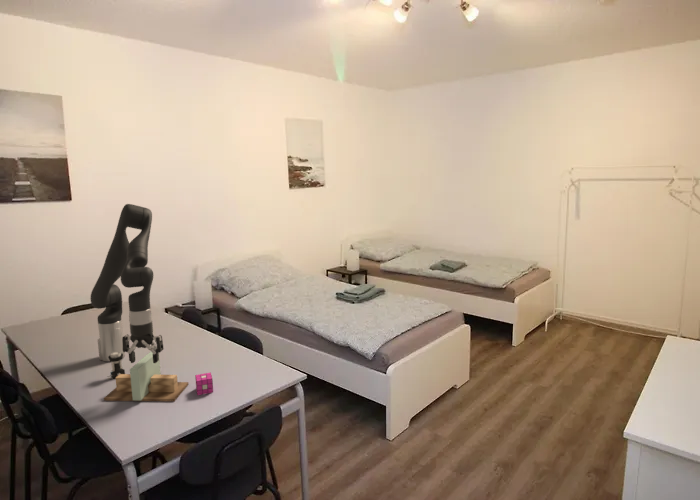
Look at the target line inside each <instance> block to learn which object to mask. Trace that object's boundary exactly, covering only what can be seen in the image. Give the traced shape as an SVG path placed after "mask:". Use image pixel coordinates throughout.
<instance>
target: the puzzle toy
mask: <svg viewBox="0 0 700 500" xmlns="http://www.w3.org/2000/svg"><path fill="white" fill-rule="evenodd" d="M213 382H214V381H213V376H212V372H205V373H199V374H196V375H195V390H196V394H197V396H200V395H206V394H207V395H208V394H211V393H214V384H213Z"/></svg>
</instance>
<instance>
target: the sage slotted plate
mask: <svg viewBox="0 0 700 500" xmlns="http://www.w3.org/2000/svg"><path fill="white" fill-rule="evenodd" d="M161 372H162V371H161V362H160V359H159V360H158V362H157V363H153V353H152V352H151V351H149V353H147V354H146V355H145V356H144V357H142V359H140V360H139V361H138V362H136V363H135V364H134V365H133V366H132V367H131V368H129V374H130V376H131V387H132V397H133V400H140V401H139V402H142V401H141V400H142V399H143V398H144V397H145V396H146V395H147V394H148V393H149V391H148V385H149V384H150V383H151V379H150V378H151V377H152V376H153V375H154V374H155V375H162V374H161Z"/></svg>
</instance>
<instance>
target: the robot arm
mask: <svg viewBox="0 0 700 500" xmlns="http://www.w3.org/2000/svg"><path fill="white" fill-rule="evenodd" d="M152 222H153V213H152V210H151V209H150V208H147V207H143V206H141V205H140V206H139V205H135V204H131V203H126V204H124V206H123V207H122V209H121V212H120V216H119V219H118V222H117V226H116V230H115V234H114V236H113V239H112V242H111V245H110V247H109V249H108V252H107V255H106V257H105V261H104V263H103V266H102V269H101V271H100V274H99V276H98V278H97V280H96V282H95V284H94V285H93V288H92V290H91V292H90V298H89V299H90V304H91V305H92V307H94V309H104V310H103V311H102V312H101V313H100V314H99V315H97V326H98V337H99V338H98V339H97V348H98V357H99V361H103V362H110V360H109V358H108V357H109V356H110V355H111V353H113V352H120V353H122V354H123V358H125V356H126V355H125V354H126V353H127V354H128V361H129V362H130V364H134V363H135V362H136V352H135V350H136V349H141V348H143V349H147V350H149V352H152V353H153V363H157V362H158V360H160V353H161V352H163V350H164V349H165V348H164V342H163V336H162V335H161V334H159V335H156V336H155V335H154V334H153V333H154V328H153V315H152V314H153V313H152V310H151V309H152V308H151V288H152V285H153V281H154V280H153V279H154V271H153V270H152V268H150V267H149V266H147V265H148V263H149V261H148V260H149V257H148V255H149V253H148V252H149V251H148V247H149V240H150V236H151V234H150V233H151V230H152V229H151V228H152ZM127 228H130V229H136V230H140V232H139V233H138V234H137V236H135V237H134V238H133V239H132V240H131V241H129V239H128V236H127ZM119 279H120V283H121V285H122V286H124V287H125V288H139V287H142V289H141V290H139V291H135V292H132V293H131V294H129V295H128V299H127V301H128V311H129V312H128V314H129V315H128V317H129V318H128V323H129V332H130V335H129V334H125V335H124V333H123V320H122V315H123V295H122V291H121V289H120V288H119V286H118V285H117V284H115V283H117V281H118V280H119ZM130 341H131V343H132V344H131V346H130Z"/></svg>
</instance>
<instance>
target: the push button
mask: <svg viewBox="0 0 700 500" xmlns="http://www.w3.org/2000/svg"><path fill="white" fill-rule="evenodd" d="M108 358H109V360H110V361H109V362H110V363H111V371H110V375H108V376H106V377H107V380H111V379H112V380H116V377H117V376H118V375H119V374H126V373H125V369H124V368H123V366H122V364H123V363H122V360H123V359H124V357H123V354H122V353H120V352H113V353H111V355H110V356H109V357H108Z"/></svg>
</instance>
